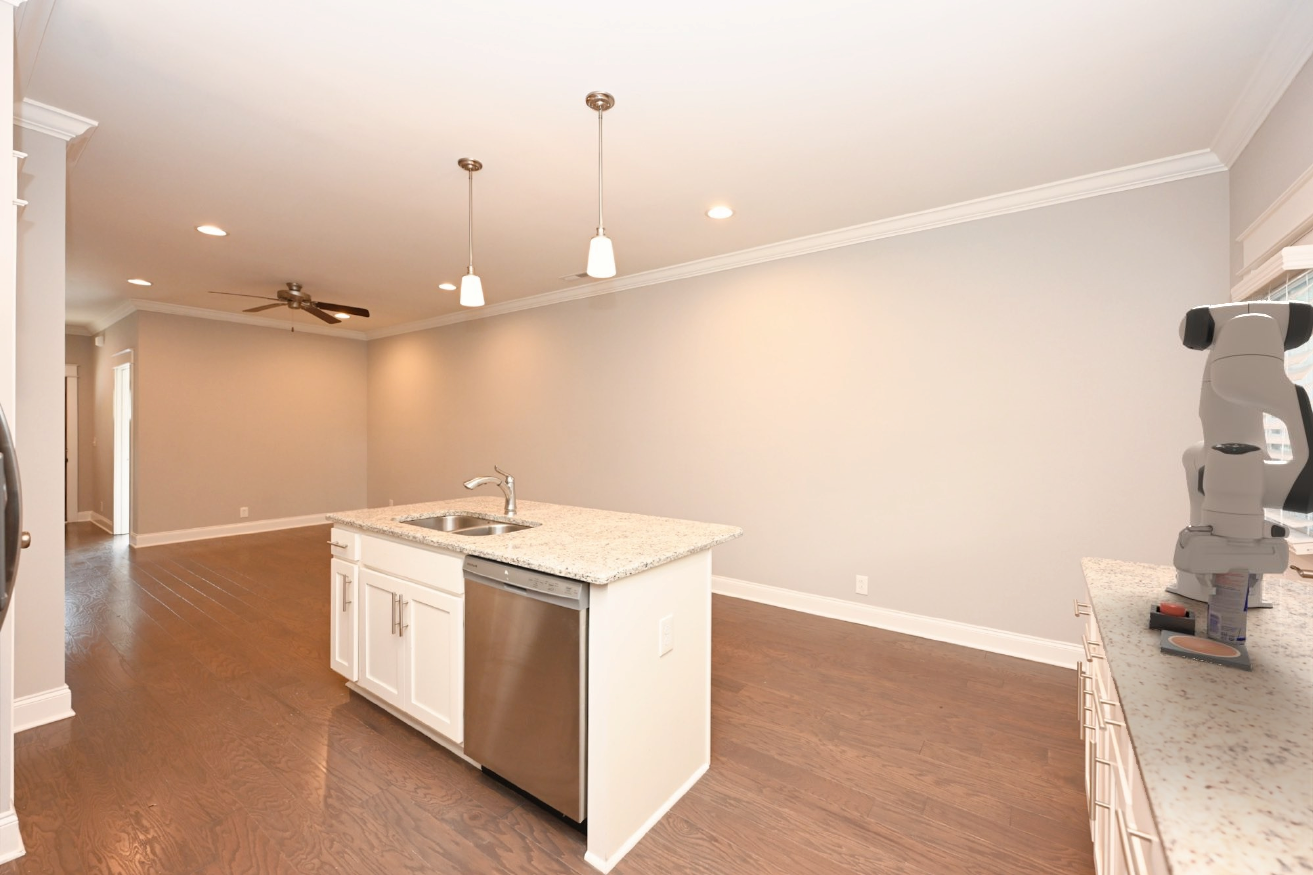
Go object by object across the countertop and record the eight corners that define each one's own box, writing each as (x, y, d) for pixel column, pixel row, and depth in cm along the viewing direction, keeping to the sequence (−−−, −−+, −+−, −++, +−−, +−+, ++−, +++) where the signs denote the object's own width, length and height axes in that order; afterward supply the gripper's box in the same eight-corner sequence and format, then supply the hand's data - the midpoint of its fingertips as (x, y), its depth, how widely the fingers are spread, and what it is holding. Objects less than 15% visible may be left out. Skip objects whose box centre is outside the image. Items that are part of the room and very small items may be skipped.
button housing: (1150, 619, 127) (1151, 604, 126) (1194, 628, 122) (1195, 611, 122) (1149, 628, 121) (1150, 612, 121) (1194, 637, 117) (1195, 620, 116)
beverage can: (1253, 646, 112) (1257, 570, 112) (1219, 644, 113) (1223, 568, 113) (1231, 636, 118) (1235, 563, 117) (1199, 633, 119) (1202, 561, 118)
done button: (1160, 612, 124) (1160, 601, 124) (1185, 617, 122) (1185, 605, 122) (1159, 617, 121) (1160, 605, 121) (1185, 622, 119) (1185, 610, 119)
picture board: (1161, 634, 118) (1161, 628, 118) (1245, 650, 110) (1245, 645, 110) (1160, 651, 109) (1160, 646, 109) (1251, 671, 101) (1251, 665, 101)
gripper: (1195, 528, 111) (1192, 599, 112) (1298, 529, 112) (1294, 599, 112) (1165, 522, 117) (1162, 589, 118) (1263, 523, 118) (1259, 590, 119)
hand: (1227, 594), depth 115 cm, fingers open, 7 cm apart
